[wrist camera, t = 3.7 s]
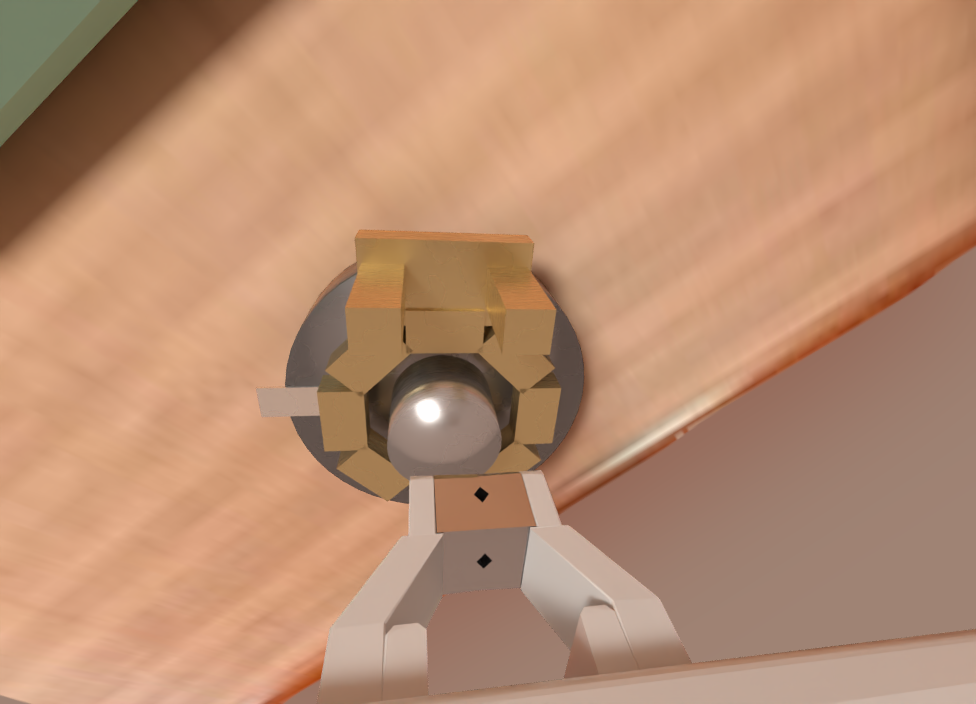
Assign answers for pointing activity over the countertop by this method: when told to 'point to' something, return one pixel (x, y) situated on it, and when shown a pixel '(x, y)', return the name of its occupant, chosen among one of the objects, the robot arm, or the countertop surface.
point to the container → (46, 49)
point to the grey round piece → (419, 397)
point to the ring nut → (440, 339)
